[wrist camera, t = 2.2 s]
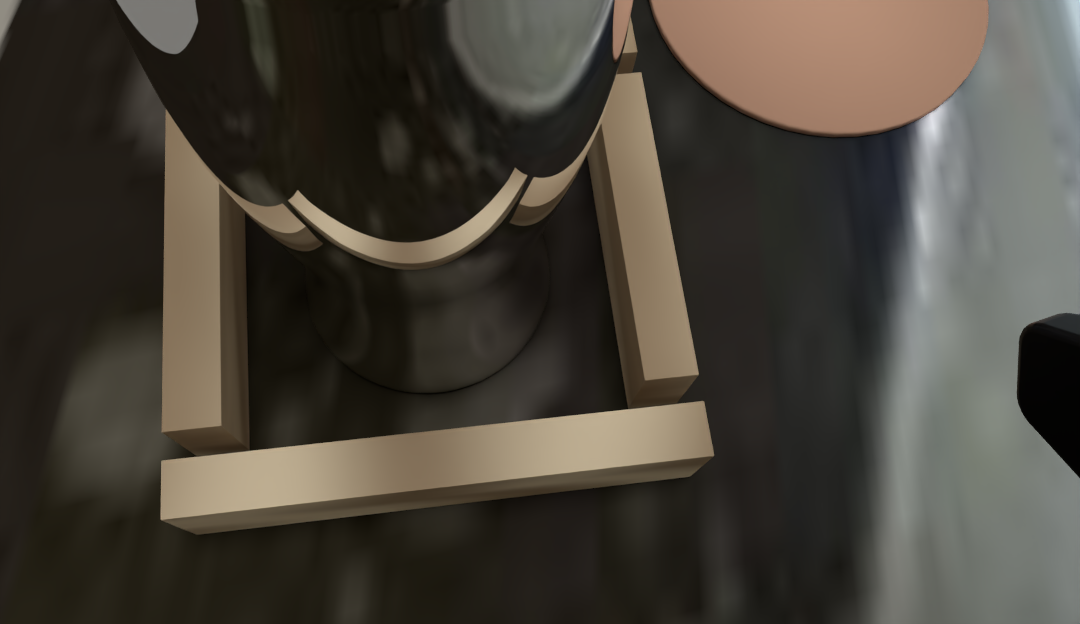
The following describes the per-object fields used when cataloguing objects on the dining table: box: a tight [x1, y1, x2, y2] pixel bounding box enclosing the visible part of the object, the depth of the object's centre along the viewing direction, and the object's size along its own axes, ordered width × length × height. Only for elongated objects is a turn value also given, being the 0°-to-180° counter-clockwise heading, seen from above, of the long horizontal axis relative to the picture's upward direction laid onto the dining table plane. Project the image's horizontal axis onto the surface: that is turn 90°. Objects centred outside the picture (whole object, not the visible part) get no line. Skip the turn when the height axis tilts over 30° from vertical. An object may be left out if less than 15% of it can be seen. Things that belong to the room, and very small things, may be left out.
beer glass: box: [109, 0, 633, 393], centre depth 16 cm, size 7×7×15 cm
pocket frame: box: [161, 17, 714, 535], centre depth 22 cm, size 11×11×2 cm
